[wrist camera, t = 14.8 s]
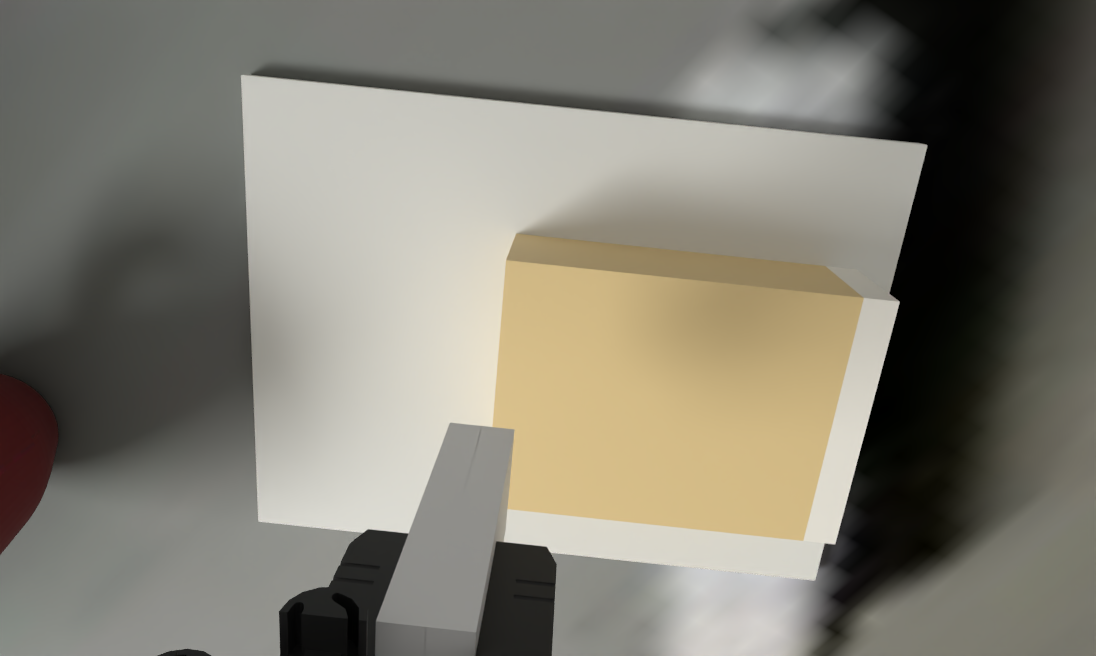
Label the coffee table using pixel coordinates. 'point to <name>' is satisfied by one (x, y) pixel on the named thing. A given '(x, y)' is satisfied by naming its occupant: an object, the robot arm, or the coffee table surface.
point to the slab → (686, 386)
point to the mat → (498, 276)
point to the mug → (23, 454)
